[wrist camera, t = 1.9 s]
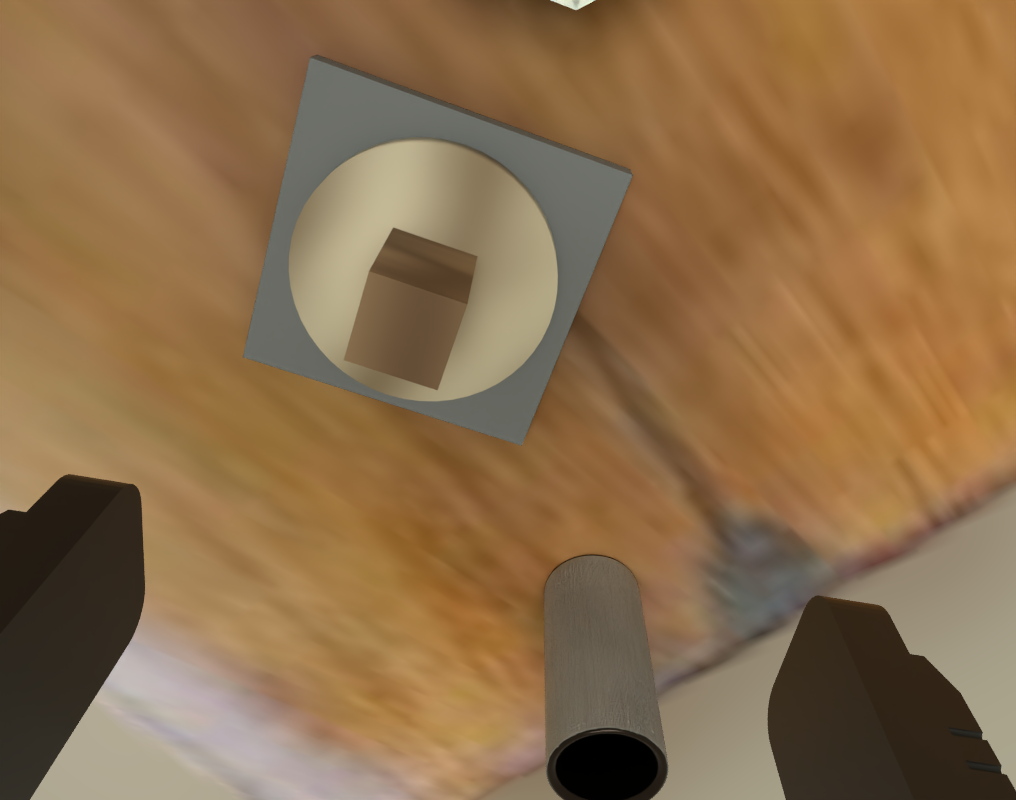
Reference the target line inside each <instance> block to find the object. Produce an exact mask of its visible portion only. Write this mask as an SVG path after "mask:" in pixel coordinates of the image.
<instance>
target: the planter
mask: <svg viewBox="0 0 1016 800" xmlns="http://www.w3.org/2000/svg"><path fill="white" fill-rule="evenodd" d="M544 654H545V738H546V775H547V779H548V781H549V784H550V785H551V787H552V789H553V790H554V791H555V792H556V793H557V795H558V796H560V797H561V798H562V799H563V800H650V799H651V798H653V797H654V796H655V795H656V794H657V793H658V792H659V791H660V789H661V788H662V787H663V785H664V783H665V781H666V778H667V775H668V762H667V754H666V748H665V742H664V736H663V730H662V724H661V718H660V712H659V706H658V700H657V694H656V688H655V682H654V676H653V670H652V664H651V657H650V651H649V645H648V639H647V633H646V627H645V621H644V615H643V609H642V603H641V597H640V592H639V588H638V584H637V581H636V579H635V577H634V575H633V574H632V572H631V571H630V570H629V569H628V568H627V567H626V566H624V565H623V564H621V563H620V562H618V561H616V560H613V559H611V558H608V557H603V556H593V555H590V556H582V557H577V558H574V559H571V560H569V561H567V562H565V563H563V564H561V565H560V566H559V567H557V568H556V569H555V570H554V571H553V572H552V574H551V575H550V577H549V578H548V580H547V582H546V585H545V591H544Z"/></svg>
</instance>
